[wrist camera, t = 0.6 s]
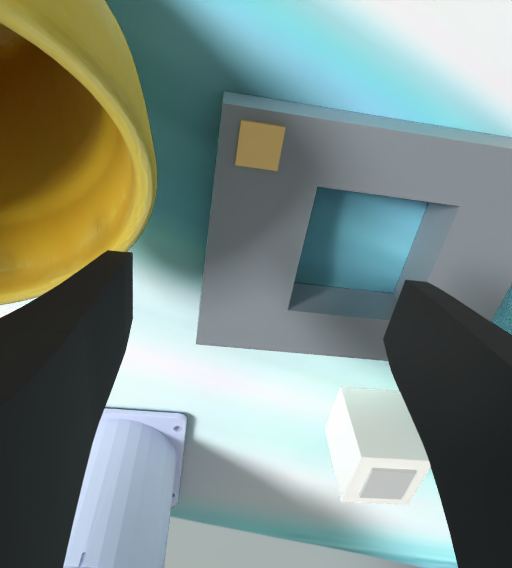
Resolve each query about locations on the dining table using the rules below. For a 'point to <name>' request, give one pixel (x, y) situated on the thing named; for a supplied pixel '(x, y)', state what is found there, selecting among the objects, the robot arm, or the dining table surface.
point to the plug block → (375, 447)
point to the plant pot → (68, 143)
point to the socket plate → (351, 177)
